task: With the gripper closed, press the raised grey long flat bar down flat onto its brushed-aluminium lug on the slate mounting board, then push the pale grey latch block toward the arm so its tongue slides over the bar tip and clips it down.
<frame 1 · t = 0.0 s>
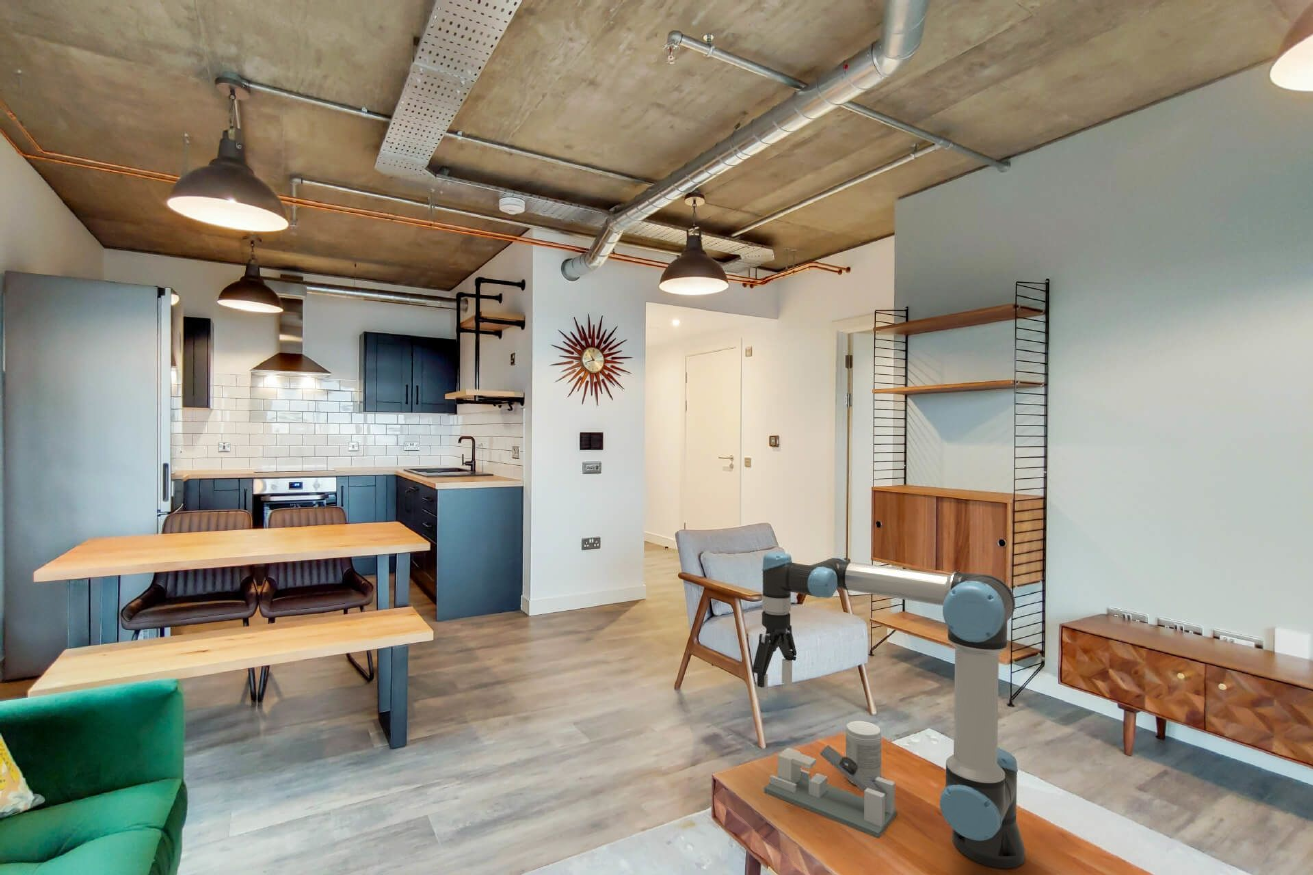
hand: (774, 691, 171), 28 cm above the table, fingers open, 13 cm apart
grey long flat bar: (853, 772, 166), point 10 cm above the table, hinge at 25.0°
supplement tub: (863, 780, 181), on the table
latch: (797, 770, 175), point 5 cm above the table, slide at 0.0 cm
mount: (828, 802, 169), on the table
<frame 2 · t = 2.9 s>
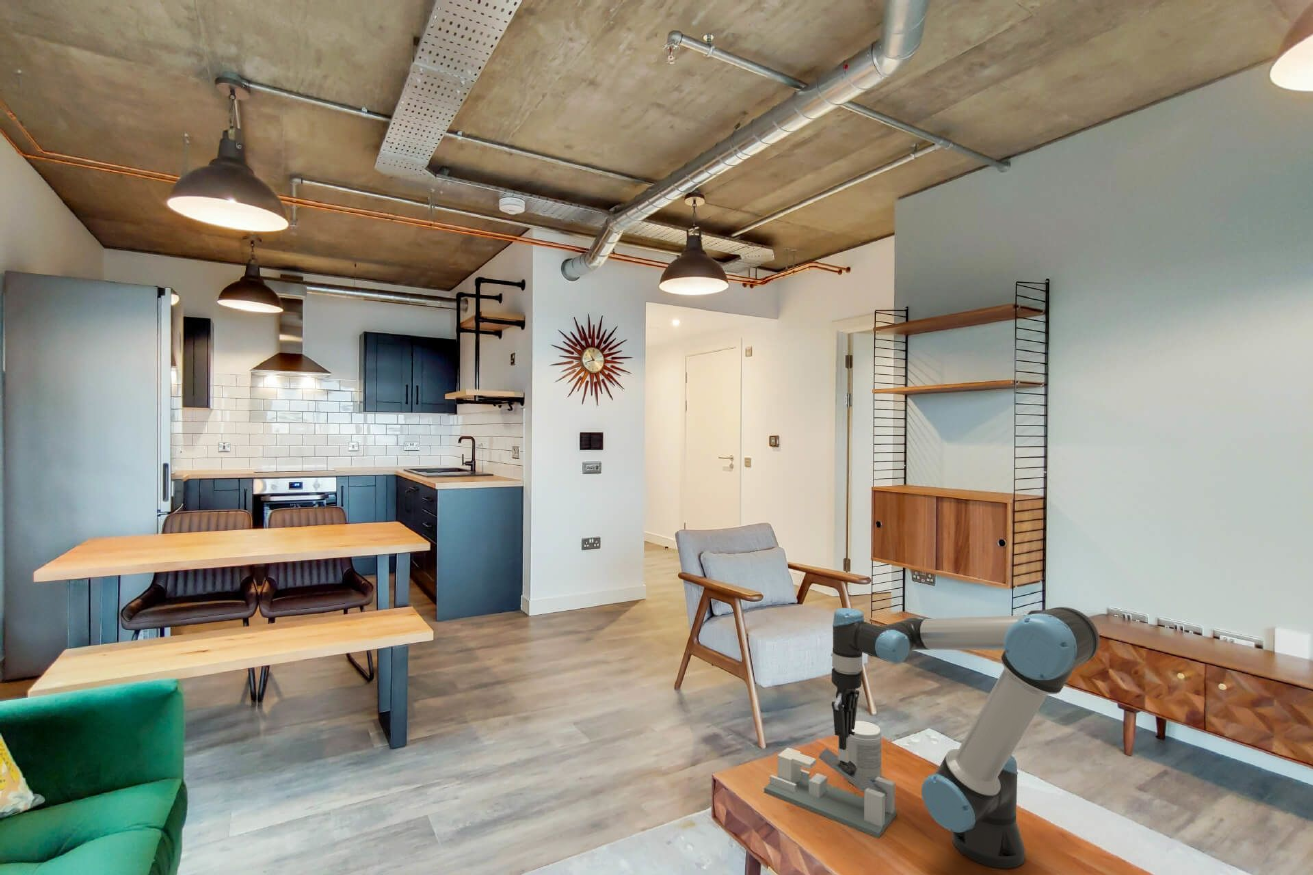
hand: (843, 759, 167), 12 cm above the table, fingers closed
grey long flat bar: (852, 773, 166), point 9 cm above the table, hinge at 21.4°, touching gripper
everything else where it was.
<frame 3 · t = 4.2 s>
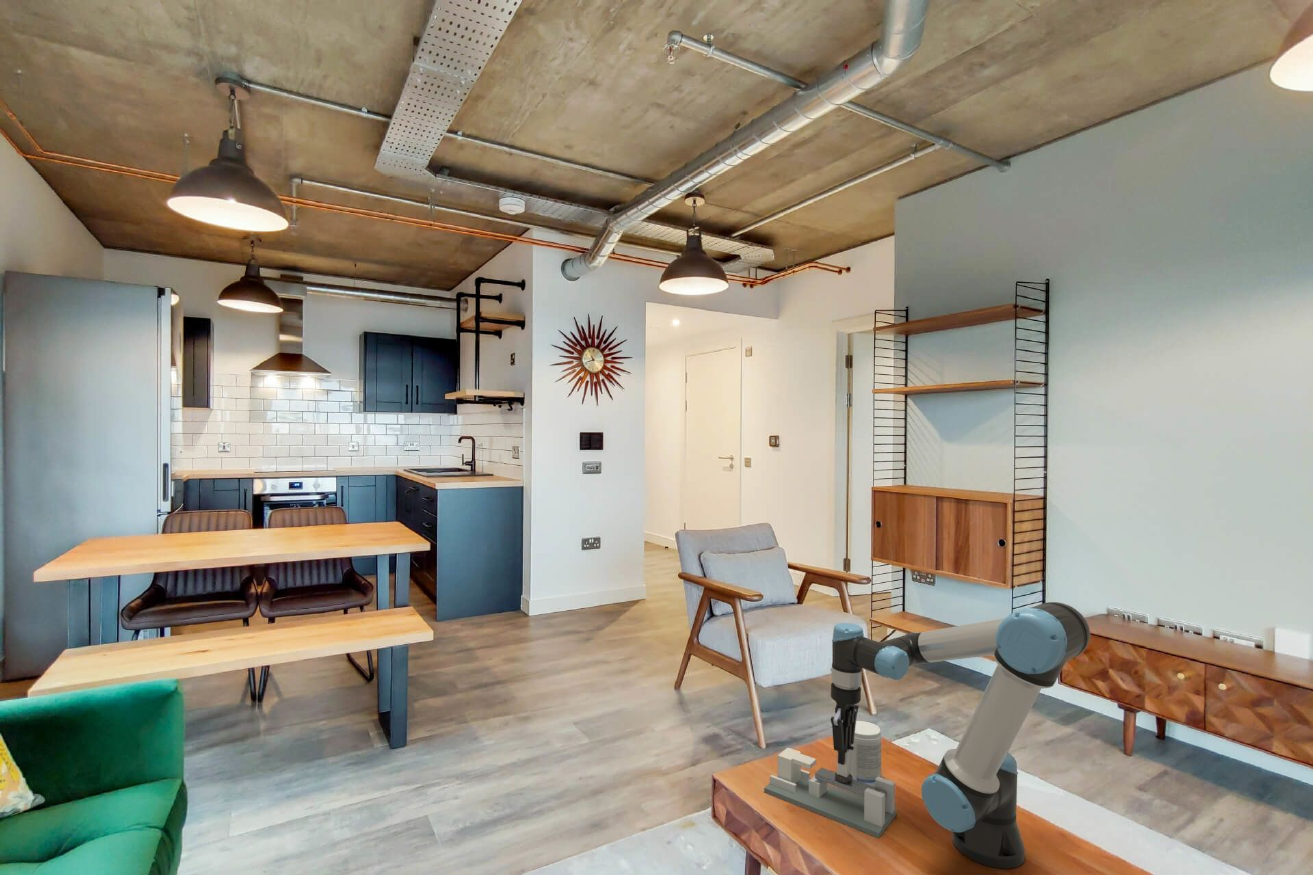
hand: (842, 774, 167), 8 cm above the table, fingers closed
grey long flat bar: (850, 782, 166), point 7 cm above the table, hinge at 1.3°, touching gripper
everything else where it was.
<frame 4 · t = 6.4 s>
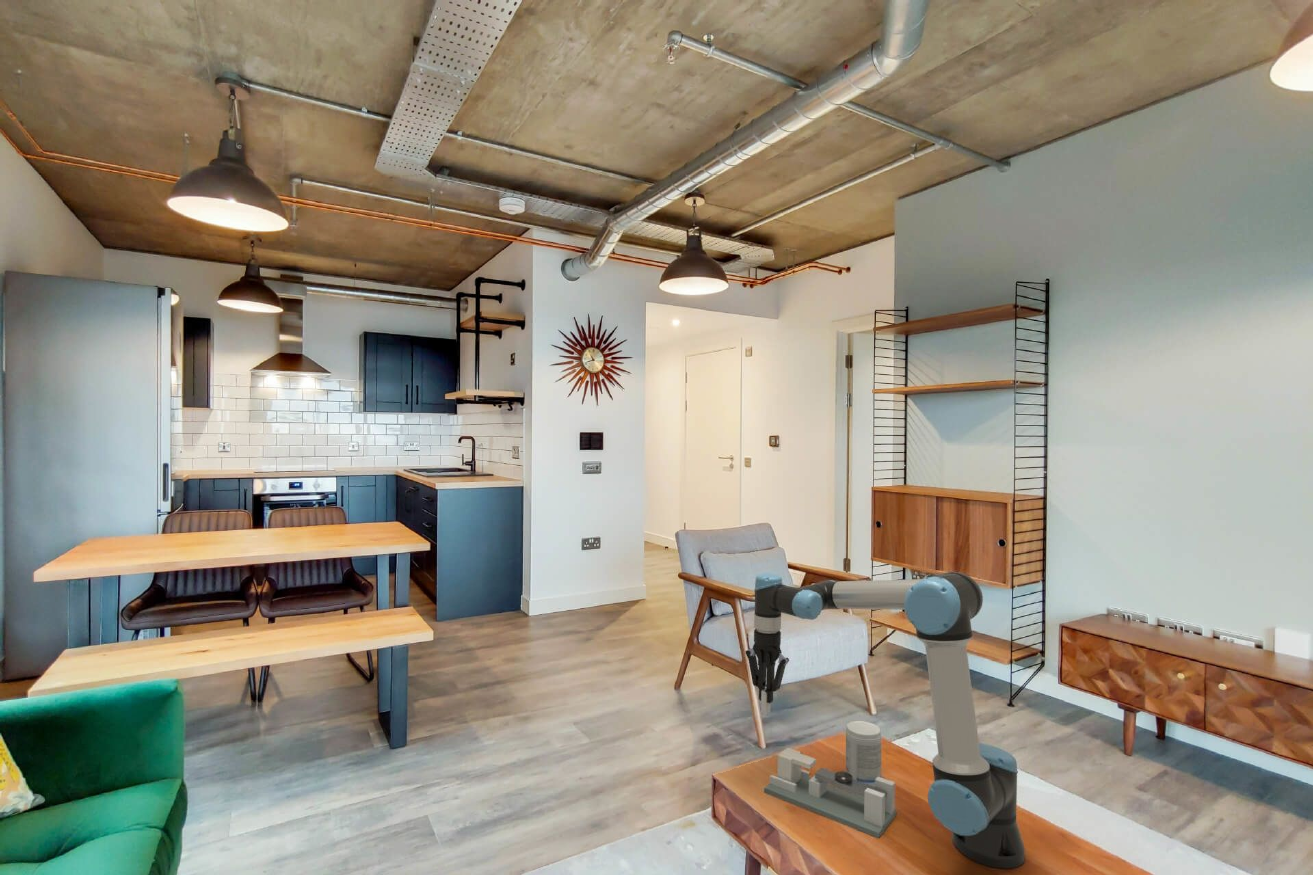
hand: (765, 712, 182), 18 cm above the table, fingers closed
grey long flat bar: (850, 782, 166), point 7 cm above the table, hinge at 1.3°
everything else where it was.
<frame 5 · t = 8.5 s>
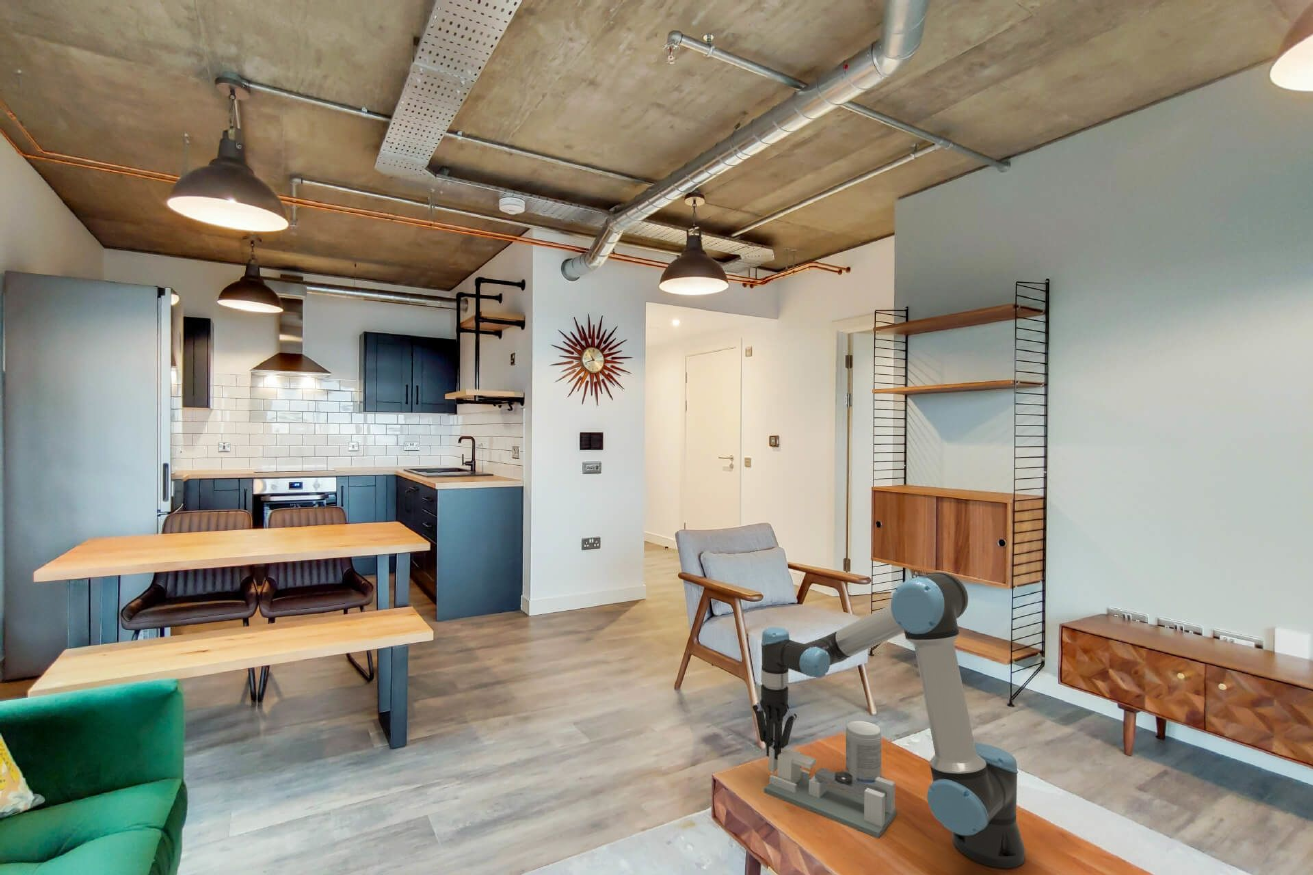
hand: (773, 769, 180), 3 cm above the table, fingers closed
latch: (797, 770, 175), point 5 cm above the table, slide at 0.0 cm, touching gripper
everything else where it was.
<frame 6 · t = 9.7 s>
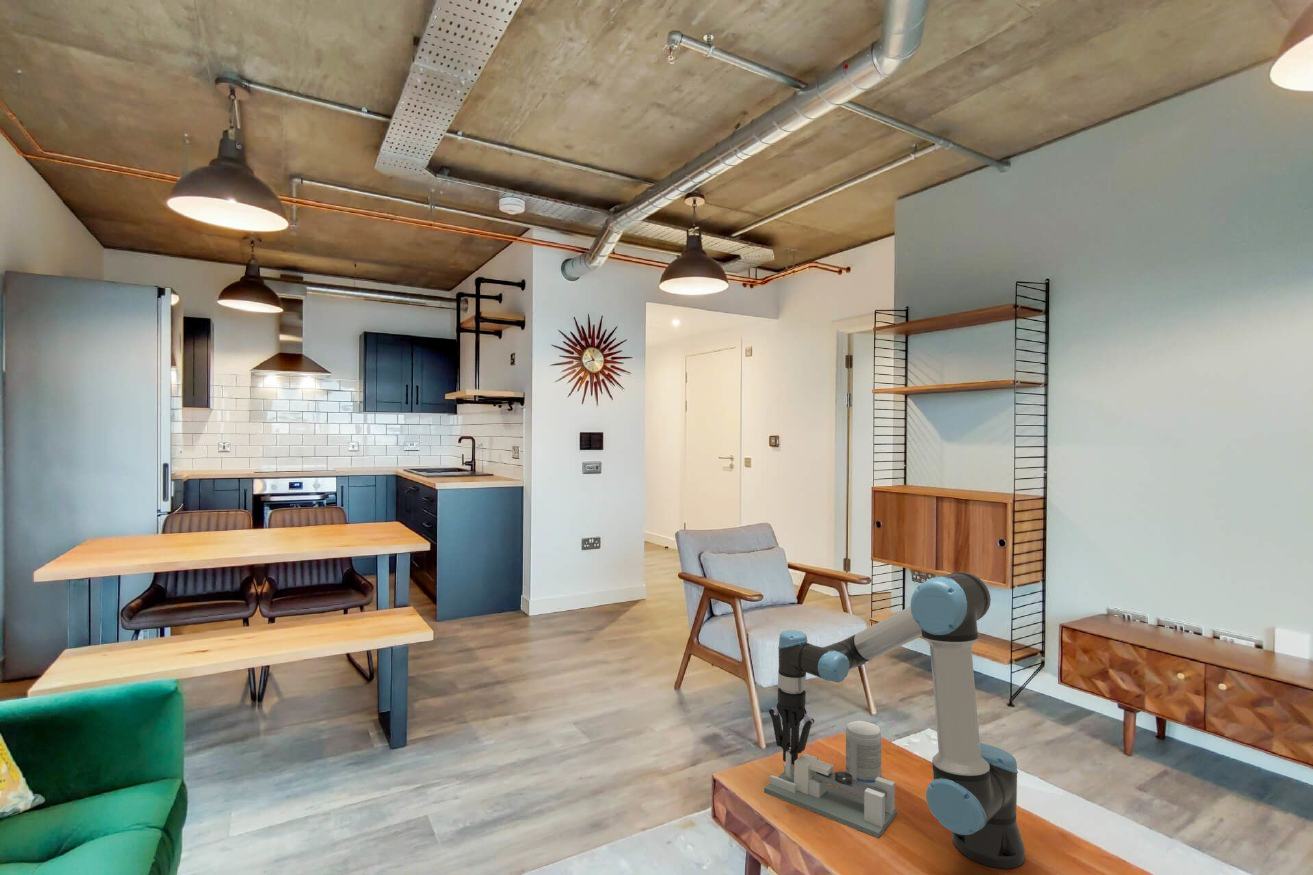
hand: (789, 774, 177), 3 cm above the table, fingers closed
latch: (814, 776, 172), point 5 cm above the table, slide at 5.0 cm, touching gripper, mount
everything else where it was.
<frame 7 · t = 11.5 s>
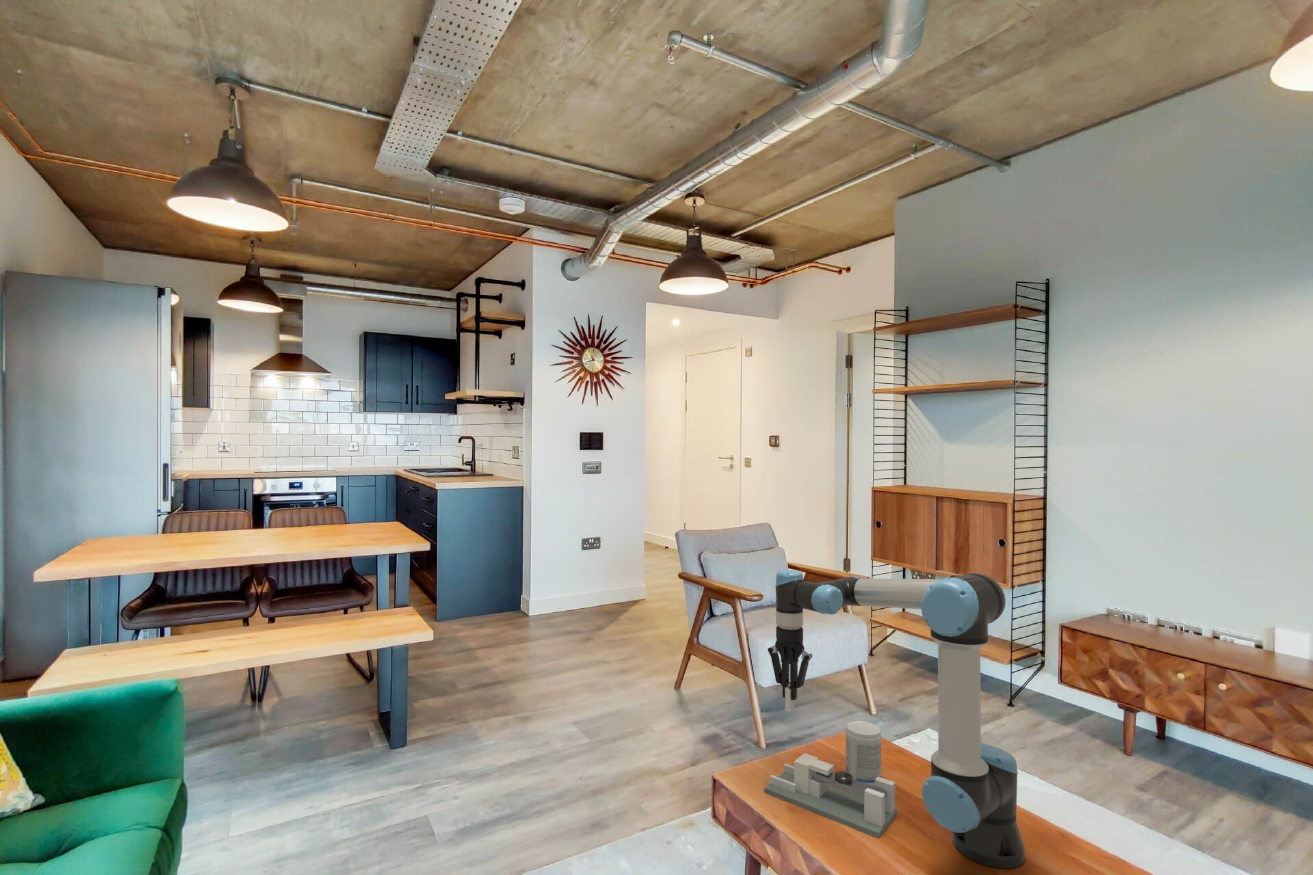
hand: (789, 710, 181), 19 cm above the table, fingers closed
latch: (814, 776, 172), point 5 cm above the table, slide at 5.0 cm, touching mount
everything else where it was.
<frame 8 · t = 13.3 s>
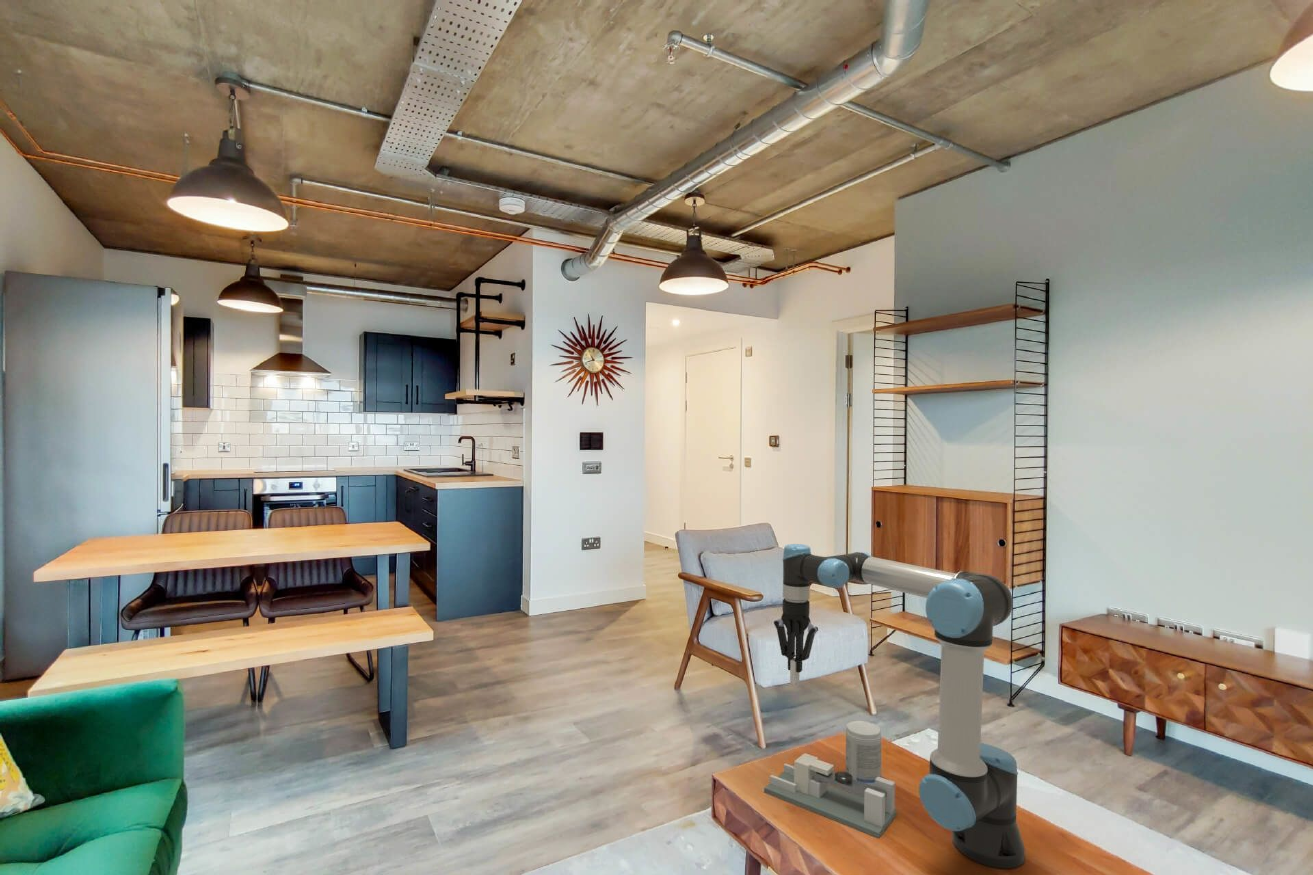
hand: (794, 682, 182), 26 cm above the table, fingers closed
nothing on the table moved.
at the end: grey long flat bar at +1° (first picture: +25°); latch slide at 5.0 cm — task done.
